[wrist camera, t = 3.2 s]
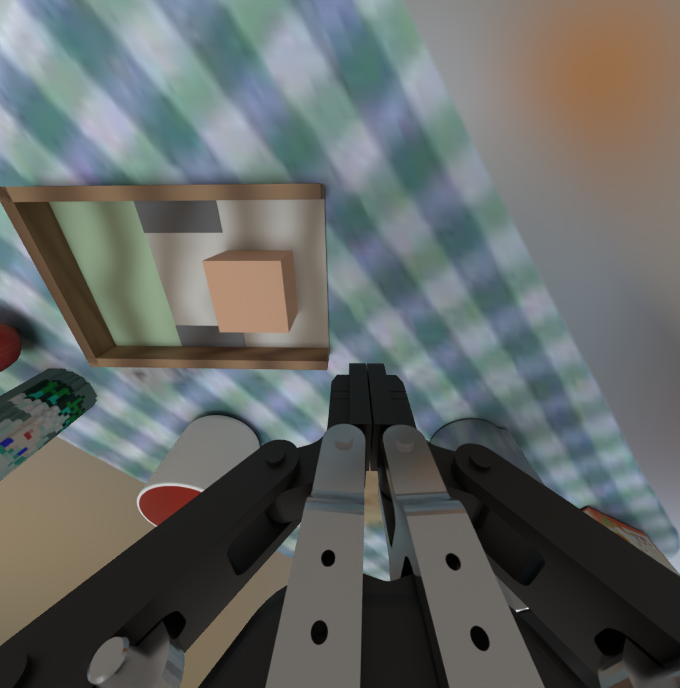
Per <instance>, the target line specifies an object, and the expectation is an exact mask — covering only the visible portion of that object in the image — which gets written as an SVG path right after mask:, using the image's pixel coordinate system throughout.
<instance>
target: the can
mask: <svg viewBox="0 0 680 688" xmlns="http://www.w3.org/2000/svg"><path fill="white" fill-rule="evenodd" d="M96 396H97V395H96V394H95V392H94V390H93V388H92V387H91V385H90V383H86V382H85V380H84V378H82V377H79V375H75V374H74V372H66V370H65V369H47V370H46V371H44V372H42V373H40V374H38V375H37V376H35V377H33V378H31V379H30V380H28V381H26V382H24V383H23V384H21V385H19V386H17V387H16V388H14V389H12V390H10V391H8V392H7V393H5V394H3V395H1V396H0V481H1V480H2V479H3V478H5V477H6V476H7V475H8V474H9V473H10V472H12V471H13V470H14V469H16V468H17V467H18V466H19V465H21V464H22V463H23V462H24V461H26V459H28V458H29V457H31V456H32V455H33V454H34V453H35V452H36V451H38V450H39V449H40V448H42V447H43V446H44V445H45V444H47V443H48V442H49V441H50V440H52V439H53V438H54V437H55V436H57V435H58V434H59V433H60V432H61V431H63V430H64V429H65V428H66V427H68V426H69V425H70V424H71V423H73V422H74V421H75V420H76V419H78V418H79V417H80V416H81V415H83V414H84V413H85V412H86V411H87V410H89V409H90V408H91V407H92V406H93V405H94V404H95V402H96V399H95V397H96Z"/></svg>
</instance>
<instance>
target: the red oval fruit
mask: <svg viewBox="0 0 680 688" xmlns="http://www.w3.org/2000/svg"><path fill="white" fill-rule="evenodd" d="M20 353H21V341H20V337H19V331H18V330H17V329H16V328H14V327H11V326H7V325H4V324H2V323H0V372H1V371H3V370H5V369H6V368H8V367H9V366H11V365H12V364H13V363H14V362H15V361H17V359H18V357H19V355H20Z"/></svg>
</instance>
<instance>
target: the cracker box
mask: <svg viewBox="0 0 680 688" xmlns="http://www.w3.org/2000/svg"><path fill="white" fill-rule="evenodd" d="M582 511H583V512H585V513H586V514H588V515H589V516H591V517H592V518H594V519H595V520H597V521H598V522H600V523H601V524H603V525H604V526H606V527H607V528H609V529H610V530H612V531H613V532H614V533H616V534H617V535H619V536H620V537H622V538H623V539H625V540H626V541H628V542H629V543H631V544H632V545H634V546H635V547H637V548H638V549H640V550H641V551H643V552H644V553H646V554H647V555H649V556H650V557H652V558H653V559H655V560H656V561H658V562H659V563H661V564H662V565H664V566H665V567H667V568H668V569H670V570H671V571H673V572H674V573H676V574H677V575H679V576H680V574H679V573H678V572H677V570H676V569H675V568H674V567H673V566H672V565H671V563H670V562H669V561H668V560H667V559H666V558H665V556H664V555H663V554H662V553H661V552H660V551H659V550H658V548H657V547H656V546H655V545H654V544H653V543H652V541H651V540H650V539H649V538H648V537H647V535H646V534H645V533H643V532H641V531H638V530H636V529H634V528H632V527H630V526H628V525H626V524H623V523H621V522H619V521H617V520H615V519H613V518H611V517H608V516H606V515H604V514H602V513H600V512H598V511H596V510H593V509H591V508H589V507H588V508H586V509H584V510H582Z"/></svg>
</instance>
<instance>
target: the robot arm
mask: <svg viewBox="0 0 680 688" xmlns="http://www.w3.org/2000/svg"><path fill="white" fill-rule="evenodd" d="M369 462H370V467H371V471H378V480H379V483H378V496H379V502H380V508H381V514H382V519H383V525H384V531H385V536H386V542H387V548H388V555H389V572H390V581H383V580H380V579H377V578H374V577H372V576H369V575H366V574H363V541H364V489H365V479H366V471H369ZM300 522H301V525H300V530H299V534H298V539H297V543H296V548H295V553H294V557H293V562H292V567H291V571H290V577H289V581H288V585H287V586H285V587H284V588H282V589H281V590H279V591H277V592H276V593H275V594H274V595H272V596H271V597H270V598H269V599H268V600H267V601H266V602H265V603H264V604H263V605H262V606H261V607H260V608H259V609H258V610H257V611H256V613H255V614H254V615H253V616H252V617H251V619H250V620H249V621H248V623H247V624H246V625H245V627H244V628H243V630H242V631H241V632H240V633H239V635H238V636H237V637H236V638H235V640H234V641H233V643H232V644H231V645H230V647H229V648H228V649H227V650H226V652H225V653H224V654H223V655H222V657H221V658H220V659H219V661H218V662H217V663H216V665H215V666H214V667H213V669H212V670H211V671H210V673H209V674H208V675H207V677H206V678H205V679H204V680H203V682H202V683H201V684H200V686H199V687H198V688H680V576H679V575H677V574H676V573H674V572H673V571H671V570H670V569H668V568H667V567H665V566H664V565H662V564H661V563H659V562H658V561H656V560H655V559H653V558H652V557H650V556H649V555H647V554H646V553H644V552H643V551H641V550H640V549H638V548H637V547H635V546H634V545H632V544H631V543H629V542H628V541H626V540H625V539H623V538H622V537H620V536H619V535H617V534H616V533H614V532H613V531H612V530H610V529H609V528H607V527H606V526H604V525H603V524H601V523H600V522H598V521H597V520H595V519H594V518H592V517H591V516H589V515H588V514H586V513H585V512H583V511H582V510H580V509H579V508H577V507H576V506H574V505H573V504H571V503H570V502H568V501H567V500H565V499H564V498H562V497H561V496H559V495H558V494H556V493H555V492H553V491H552V490H550V489H549V488H547V487H546V486H545V485H544V484H543V482H542V481H541V479H540V478H539V476H538V475H537V473H536V472H535V470H534V469H533V467H532V466H531V464H530V463H529V461H528V460H527V458H526V457H525V455H524V454H523V452H522V451H521V449H520V448H519V446H518V445H517V443H516V442H515V440H514V439H513V437H512V436H511V435H510V433H509V432H508V430H507V429H500V428H497V427H496V426H494V425H493V424H492V423H489V422H487V421H483V420H478V419H467V420H460V421H457V422H453V423H451V424H449V425H446V426H445V427H443V428H442V429H440V430H439V431H438V432H437V433H436V434H435V435H434V436H433V438H432V440H431V442H428V441H427V440H426V439H425V437H424V436H423V434H422V433H421V432H420V431H418V430H417V428H416V425H415V421H414V418H413V415H412V411H411V408H410V404H409V401H408V397H407V394H406V391H405V387H404V384H403V382H402V381H401V380H400V379H399V378H398V377H397V376H396V375H386V371H385V367H384V364H381V363H367V366H366V363H349V375H337V376H336V377H335V378H334V380H333V381H332V384H331V395H330V406H329V417H328V427H327V431H326V432H325V434H324V436H323V437H322V438H321V439H320V440H318V441H317V442H315V443H313V444H310V445H307V446H303V447H299V448H297V447H296V446H295V445H294V444H293V443H291V442H290V441H287V440H274V441H271V442H268V443H266V444H264V445H263V446H261V447H260V448H259V449H257V450H256V451H255V452H254V453H252V454H251V455H250V456H248V457H247V458H246V459H244V460H243V461H242V462H240V463H239V464H238V465H237V466H235V467H234V468H233V469H231V470H230V471H229V472H227V473H226V474H225V475H223V476H222V477H221V478H220V479H218V480H217V481H216V482H214V483H213V484H212V485H210V486H209V487H208V488H206V489H205V490H204V491H202V492H201V493H200V494H199V495H197V496H196V497H195V498H193V499H192V500H191V501H189V502H188V503H187V504H185V505H184V506H183V507H182V508H180V509H179V510H178V511H176V512H175V513H174V514H172V515H171V516H170V517H168V518H167V519H166V520H165V521H163V522H162V523H161V524H159V525H158V526H157V527H155V528H154V529H153V530H151V531H150V532H149V533H148V534H146V535H145V536H144V537H142V538H141V539H140V540H138V541H137V542H136V543H134V544H133V545H132V546H130V547H129V548H128V549H127V550H125V551H124V552H123V553H121V554H120V555H119V556H117V557H116V558H115V559H114V560H112V561H111V562H110V563H108V564H107V565H106V566H104V567H103V568H102V569H100V570H99V571H98V572H96V573H95V574H94V575H92V576H91V577H90V578H89V579H87V580H86V581H85V582H83V583H82V584H81V585H79V586H78V587H77V588H76V589H74V590H73V591H72V592H70V593H69V594H68V595H66V596H65V597H64V598H62V599H61V600H60V601H58V602H57V603H56V604H55V605H53V606H52V607H51V608H49V609H48V610H47V611H45V612H44V613H43V614H41V615H40V616H39V617H37V618H36V619H35V620H34V621H32V622H31V623H30V624H28V625H27V626H26V627H25V628H23V629H22V630H20V631H19V632H18V633H17V634H15V635H14V636H13V637H11V638H10V639H9V640H7V641H6V642H5V643H4V644H3V645H1V646H0V688H179V687H180V684H181V681H182V676H183V672H184V665H185V660H184V659H185V657H184V653H185V652H186V651H187V649H188V648H189V647H190V646H191V645H192V644H193V643H194V642H195V640H196V639H197V638H198V637H199V636H200V635H201V634H202V633H203V632H204V630H205V629H206V628H207V627H208V626H209V625H210V624H211V623H212V621H213V620H214V619H215V618H216V617H217V616H218V614H220V612H221V611H222V610H223V609H224V608H225V607H226V606H227V605H228V604H229V602H230V601H231V600H232V599H233V598H234V597H235V596H236V594H237V593H238V592H239V591H240V590H241V589H242V588H243V587H244V586H245V584H246V583H247V582H248V581H249V579H251V578H252V576H253V575H254V574H255V573H256V572H257V571H258V570H259V569H260V568H261V566H262V565H263V564H264V563H265V562H266V561H267V560H268V559H269V557H270V556H271V555H272V554H273V553H274V552H275V551H276V550H277V548H278V547H279V546H280V545H281V544H282V543H283V542H284V541H285V539H286V538H287V537H288V536H289V535H290V534H291V533H292V532H293V530H294V529H295V528H296V527H297V526H298V525H299V524H300Z"/></svg>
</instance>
